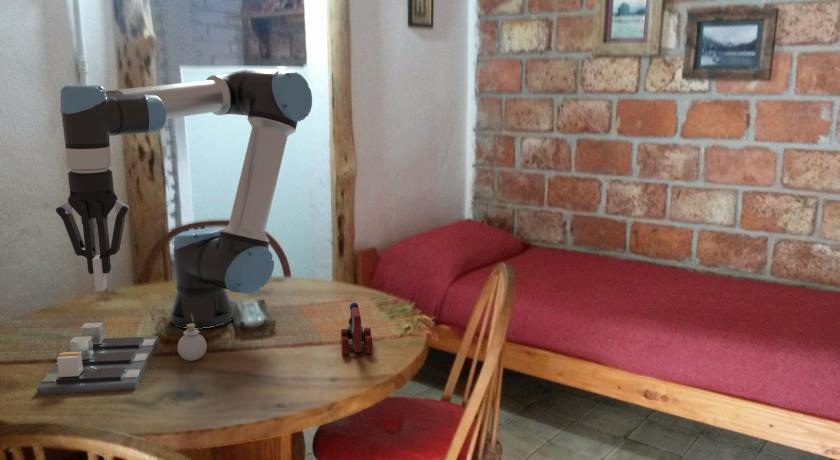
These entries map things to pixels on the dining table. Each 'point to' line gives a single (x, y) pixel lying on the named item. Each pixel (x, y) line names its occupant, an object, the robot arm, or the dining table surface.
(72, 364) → the knob
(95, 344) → the panel
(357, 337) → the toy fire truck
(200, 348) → the ornament
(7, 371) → the dining table surface
